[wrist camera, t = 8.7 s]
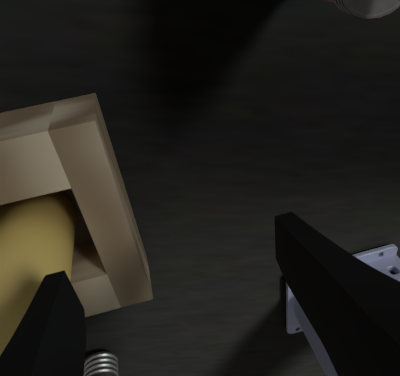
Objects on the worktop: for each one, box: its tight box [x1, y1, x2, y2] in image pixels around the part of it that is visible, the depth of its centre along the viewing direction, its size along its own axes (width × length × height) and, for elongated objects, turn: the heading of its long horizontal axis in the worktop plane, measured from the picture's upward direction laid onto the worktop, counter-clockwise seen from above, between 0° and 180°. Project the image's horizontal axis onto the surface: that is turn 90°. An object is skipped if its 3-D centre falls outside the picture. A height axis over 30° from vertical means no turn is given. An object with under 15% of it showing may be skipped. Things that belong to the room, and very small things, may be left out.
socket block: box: [0, 93, 153, 317], centre depth 20 cm, size 12×12×4 cm
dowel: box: [0, 191, 77, 355], centre depth 18 cm, size 4×4×8 cm
